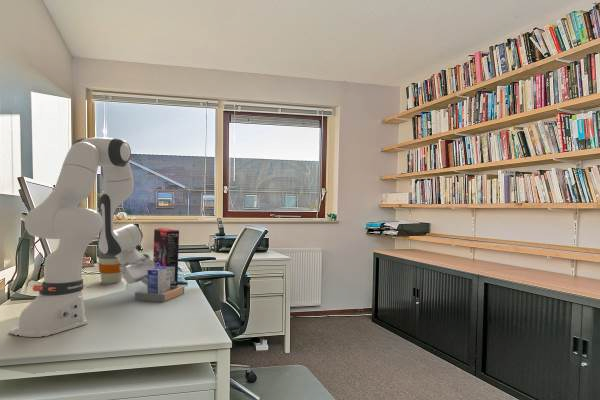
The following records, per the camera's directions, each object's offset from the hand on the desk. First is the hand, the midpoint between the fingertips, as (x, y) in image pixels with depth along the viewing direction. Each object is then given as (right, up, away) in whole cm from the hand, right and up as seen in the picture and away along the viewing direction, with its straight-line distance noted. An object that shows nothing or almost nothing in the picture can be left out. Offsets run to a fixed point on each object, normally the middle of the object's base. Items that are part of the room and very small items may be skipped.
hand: (152, 285), depth 178 cm
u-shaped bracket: (+4, -4, -1) cm, 6 cm away
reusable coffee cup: (-31, -4, +28) cm, 42 cm away
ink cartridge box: (+3, -5, -1) cm, 6 cm away
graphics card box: (-2, -5, +23) cm, 24 cm away
